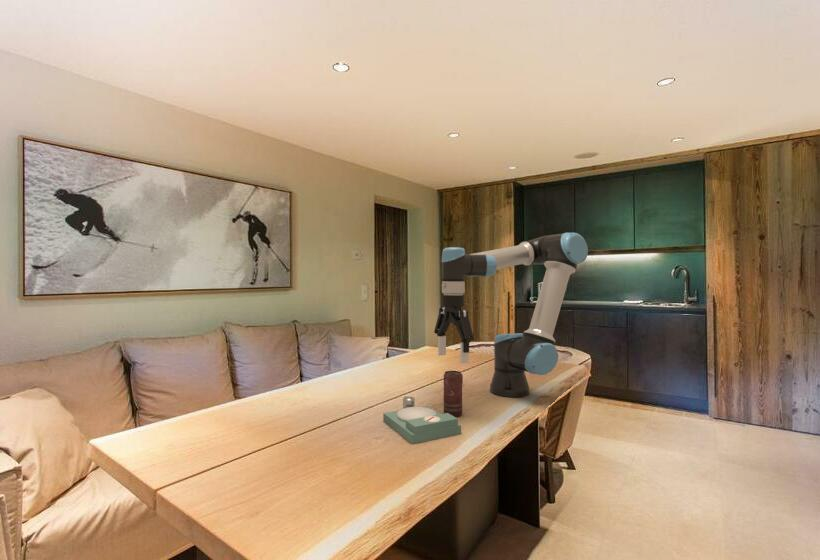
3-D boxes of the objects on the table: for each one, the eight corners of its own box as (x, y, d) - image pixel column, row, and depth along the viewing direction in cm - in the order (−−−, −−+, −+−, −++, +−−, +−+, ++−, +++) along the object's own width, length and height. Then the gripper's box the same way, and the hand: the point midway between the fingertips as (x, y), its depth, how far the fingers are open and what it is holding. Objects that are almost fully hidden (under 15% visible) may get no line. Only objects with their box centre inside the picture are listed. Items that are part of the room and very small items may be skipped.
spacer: (411, 407, 141) (411, 395, 141) (416, 410, 138) (416, 399, 138) (401, 409, 140) (400, 397, 140) (406, 412, 136) (406, 400, 136)
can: (462, 418, 130) (462, 374, 130) (442, 416, 132) (442, 373, 131) (463, 412, 136) (463, 370, 136) (444, 410, 138) (444, 369, 137)
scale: (427, 413, 135) (427, 398, 135) (461, 433, 117) (461, 416, 117) (383, 420, 128) (383, 405, 128) (412, 444, 110) (412, 426, 110)
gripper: (424, 293, 143) (424, 353, 143) (465, 296, 121) (464, 367, 121) (443, 293, 146) (442, 351, 146) (485, 295, 124) (485, 364, 124)
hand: (452, 358), depth 134 cm, fingers open, 13 cm apart
